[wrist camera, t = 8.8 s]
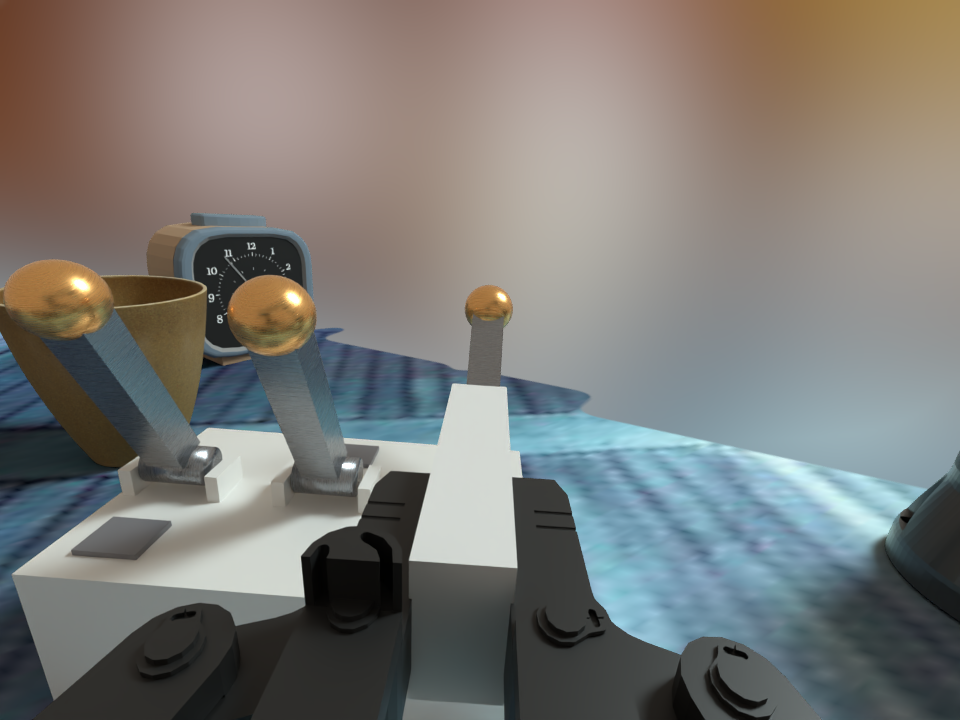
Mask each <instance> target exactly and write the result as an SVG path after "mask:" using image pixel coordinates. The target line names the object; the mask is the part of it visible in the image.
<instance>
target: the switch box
mask: <svg viewBox="0 0 960 720" xmlns="http://www.w3.org/2000/svg"><path fill="white" fill-rule="evenodd" d="M197 438H198V439H199V441H200V444H199V445H198V446H211V447H218V448H219V449H220V451H221V453H222V461H221V462H220V463H219V464H218V465H216V466H215V467H214V468H213V469H212V470H211V471H210V472H209V473H208V474H206V475H205V476H204V481H205V486H201V485H188V484H174V483H161V482H148V481H144V480H142V479H141V478H140V476H139V474H138V462H139V458H140V457H139V456H138V457H136V458H135V459H133V460H132V461H130V462H129V463H127V464H126V465H125V466H123V467H122V468H120V469H119V470H118V475H119V479H120V484H121V488H122V492H121V493H120V494H119V495H117V496H116V497H115V498H113V499H112V500H111V501H109V502H108V503H107V504H105V505H104V506H103V507H101V508H100V509H99V510H97V511H96V512H95V513H93V514H92V515H91V516H89V517H88V518H86V519H85V520H84V521H82V522H81V523H80V524H78V525H77V526H76V527H74V528H73V529H72V530H70V531H69V532H68V533H66V534H65V535H64V536H62V537H61V538H60V539H58V540H57V541H56V542H54V543H53V544H52V545H50V546H49V547H48V548H46V549H45V550H43V551H42V552H41V553H39V554H38V555H37V556H35V557H34V558H33V559H31V560H30V561H29V562H27V563H26V564H25V565H23V566H22V567H21V568H19V569H18V570H17V571H15V572H14V573H13V574H12V577H13V580H14V583H15V586H16V589H17V592H18V595H19V598H20V601H21V604H22V607H23V610H24V613H25V616H26V619H27V622H28V625H29V628H30V631H31V634H32V637H33V640H34V643H35V646H36V649H37V652H38V655H39V658H40V661H41V664H42V667H43V670H44V673H45V676H46V679H47V682H48V685H49V688H50V691H51V694H52V697H53V700H55V699H57V698H58V697H59V696H60V695H61V694H62V693H63V692H65V691H66V690H67V689H68V688H69V687H70V686H71V685H73V684H74V683H75V682H76V681H77V680H78V679H79V678H81V677H82V676H83V675H84V674H85V673H86V672H88V671H89V670H90V669H91V668H92V667H93V666H94V665H96V664H97V663H98V662H99V661H100V660H101V659H102V658H104V657H105V656H106V655H107V654H108V653H109V652H110V651H112V650H113V649H114V648H115V647H116V646H117V645H118V644H120V643H121V642H122V641H123V640H124V639H125V638H126V637H128V636H129V635H130V634H131V633H132V632H134V631H135V630H137V629H138V628H139V627H141V626H142V625H144V624H145V623H147V622H148V621H149V620H151V619H152V618H154V617H156V616H158V615H160V614H163V613H165V612H167V611H169V610H172V609H174V608H176V607H180V606H185V605H190V604H195V603H208V604H217V605H219V606H221V607H223V608H224V609H226V610H227V611H229V612H230V613H231V615H232V617H233V620H234V623H235V626H238V625H243V624H247V623H252V622H257V621H261V620H266V619H271V618H276V617H279V616H282V615H286V614H289V613H292V612H294V611H296V610H298V609H300V608H302V607H304V606H305V597H304V586H303V575H302V565H301V555H302V554H303V553H304V552H305V551H306V549H307V548H308V547H309V546H310V545H311V544H312V543H313V542H314V541H316V540H317V539H319V538H320V537H322V536H324V535H325V534H327V533H328V532H332V531H335V530H338V529H341V528H344V527H349V526H357V524H358V522H359V520H360V519H361V516H362V513H363V511H364V508H365V506H366V504H368V499H369V497H370V495H371V492H372V490H373V488H374V486H375V484H376V483H377V482H378V481H379V480H381V479H382V478H383V477H384V476H385V475H386V474H388V473H389V472H390V471H403V472H418V473H431V469H432V465H433V461H434V457H435V453H436V449H437V445H430V444H416V443H403V442H390V441H377V440H363V439H350V438H343V439H344V443H345V447H346V450H347V455H346V457H357V458H362V461H363V478H362V481H361V483H360V485H359V487H358V495H357V496H356V497H344V496H331V495H318V494H305V493H294V492H293V491H292V489H291V472H292V467H293V464H294V462H295V461H294V459H293V457H292V454H291V452H290V449H289V447H288V445H287V442H286V440H285V438H284V435H283V433H270V432H257V431H244V430H230V429H217V428H207V429H206V430H205V431H203V432H202V433H201V434H199V435H198V436H197ZM510 453H511V470H512V477H518V478H523V477H522V472H521V462H520V452H519V451H510ZM402 720H504V703H503V706H497V705H483V704H470V703H456V702H443V701H429V700H416V699H408V690H407V696H406V701H405V707H404V712H403V718H402Z"/></svg>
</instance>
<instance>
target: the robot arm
mask: <svg viewBox="0 0 960 720" xmlns="http://www.w3.org/2000/svg"><path fill="white" fill-rule="evenodd" d="M885 548H886V552H887V554H888V557H889V558H890V560H891V562H892V563H893V565H894V566H895V567H896V569H897V570H898V571H899V572H900V573H901V574H902V576H903V577H904V578H905V579H906V580H907V581H908V582H909V583H910V584H911V585H912V586H914V587H915V588H916V589H917V590H918V591H919V592H920V593H921V594H923V595H924V596H925V597H926V598H928V599H929V600H930V601H931V602H933V603H934V604H935V605H937V606H938V607H939V608H941V609H942V610H944V611H945V612H946V613H948V614H949V615H951V616H952V617H954V618H955V619H957V620H958V621H960V452H959V454H958V456H957V458H956V460H955V462H954V464H953V466H952V468H951V469H950V471H949V472H948V473H946V474H945V475H944V476H943V477H942V478H941V479H939V480H938V481H937V482H936V483H935V484H934V485H932V486H931V487H930V488H929V489H928V490H927V491H925V492H924V493H923V494H922V495H921V496H920V497H918V498H917V499H916V500H915V501H914V502H913V503H912V504H911V505H910V506H909V507H908V508H907V509H905V510H903V511H902V512H901V513H900V514H899V515H898V516H897V517H896V519H895V520H894V522H893V524H892V527H891V529H890V531H889V533H888V536H887V538H886V541H885ZM301 565H302V575H303V586H304V597H305V606H304V607H302V608H300V609H298V610H296V611H294V612H292V613H289V614H286V615H282V616H279V617H276V618H271V619H266V620H261V621H257V622H252V623H247V624H243V625H238V626H235V623H234V620H233V617H232V615H231V613H230V612H229V611H227V610H226V609H224V608H223V607H221V606H219V605H217V604H208V603H195V604H190V605H185V606H180V607H176V608H174V609H172V610H169V611H167V612H165V613H163V614H160V615H158V616H156V617H154V618H152V619H151V620H149V621H148V622H147V623H145V624H144V625H142V626H141V627H139V628H138V629H137V630H135V631H134V632H132V633H131V634H130V635H129V636H128V637H126V638H125V639H124V640H123V641H122V642H121V643H120V644H118V645H117V646H116V647H115V648H114V649H113V650H112V651H110V652H109V653H108V654H107V655H106V656H105V657H104V658H102V659H101V660H100V661H99V662H98V663H97V664H96V665H94V666H93V667H92V668H91V669H90V670H89V671H88V672H86V673H85V674H84V675H83V676H82V677H81V678H79V679H78V680H77V681H76V682H75V683H74V684H73V685H71V686H70V687H69V688H68V689H67V690H66V691H65V692H63V693H62V694H61V695H60V696H59V697H58V698H57V699H55V700H54V701H53V702H52V703H51V704H50V705H49V706H47V707H46V708H45V709H44V710H43V711H42V712H40V713H39V714H38V715H37V716H36V717H35V718H34V719H32V720H402V718H403V712H404V707H405V701H406V696H407V690H408V699H416V700H429V701H443V702H456V703H470V704H483V705H497V706H503V703H504V720H822V719H821V718H820V717H819V716H818V715H817V713H816V712H815V711H814V710H813V709H812V707H811V706H810V705H809V704H808V703H807V702H806V700H805V699H804V698H803V697H802V696H801V695H800V693H799V692H798V691H797V690H796V689H795V687H794V686H793V685H792V684H791V683H790V682H789V680H788V679H787V678H786V677H785V676H784V675H783V674H782V673H781V672H780V671H779V670H778V669H776V668H775V667H774V666H773V665H772V664H771V663H770V662H769V661H768V660H767V659H766V658H764V657H763V656H761V655H759V654H758V653H756V652H754V651H753V650H751V649H750V648H748V647H746V646H745V645H743V644H740V643H737V642H734V641H731V640H728V639H725V638H722V637H701V638H699V639H696V640H694V641H692V642H690V643H688V645H687V646H686V648H685V650H684V651H683V653H682V655H679V654H677V653H674V652H671V651H669V650H666V649H663V648H660V647H658V646H655V645H652V644H649V643H647V642H644V641H642V640H640V639H637V638H635V637H633V636H631V635H629V634H627V633H626V632H624V631H623V630H622V629H620V628H619V627H617V626H616V625H615V624H614V623H613V622H611V620H610V618H609V616H608V614H607V612H606V610H605V609H604V608H603V607H602V606H601V605H600V604H599V603H598V602H597V601H596V600H595V598H594V596H593V593H592V590H591V587H590V583H589V579H588V575H587V571H586V567H585V563H584V559H583V555H582V551H581V547H580V543H579V539H578V535H577V532H576V527H575V523H574V519H573V516H572V511H571V507H570V503H569V499H568V495H567V494H566V493H565V492H564V491H563V490H562V488H561V487H560V486H559V485H558V484H557V483H556V481H555V480H548V479H533V478H518V477H512V470H511V453H510V437H509V421H508V404H507V388H506V387H497V386H481V385H465V384H452V389H451V393H450V397H449V401H448V405H447V409H446V413H445V417H444V421H443V425H442V429H441V433H440V437H439V441H438V445H437V449H436V453H435V457H434V461H433V465H432V469H431V473H418V472H403V471H390V472H389V473H388V474H386V475H385V476H384V477H383V478H382V479H381V480H379V481H378V482H377V483H376V484H375V486H374V488H373V490H372V492H371V495H370V497H369V499H368V504H366V506H365V508H364V511H363V513H362V516H361V519H360V520H359V522H358V524H357V526H349V527H344V528H341V529H338V530H335V531H332V532H328V533H327V534H325V535H324V536H322V537H320V538H319V539H317V540H316V541H314V542H313V543H312V544H311V545H310V546H309V547H308V548H307V549H306V551H305V552H304V553H303V554H302V555H301Z"/></svg>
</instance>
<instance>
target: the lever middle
mask: <svg viewBox="0 0 960 720" xmlns="http://www.w3.org/2000/svg"><path fill="white" fill-rule="evenodd" d="M316 316H317V315H316V308H315V305H314V302H313V300H312V298H311V297H310V295H309V294H308V293H307V291H306V290H305V289H304V288H303V287H302V286H300V285H299V284H298V283H296V282H295V281H293V280H291V279H288V278H285V277H282V276H277V275H263V276H258V277H255V278H252V279H250V280H248V281H246V282H245V283H243V284H242V285H241V286H240V287H238V288H237V290H236V291H235V292H234V294H233V295H232V297H231V299H230V301H229V305H228V309H227V318H228V323H229V327H230V329H231V331H232V333H233V335H234V336H235V338H236V339H237V340H238V341H239V342H240V343H241V344H242V345H243V346H244V347H246V348H247V350H248V353H249V355H250V357H251V360H252V362H253V364H254V367H255V369H256V372H257V374H258V376H259V379H260V381H261V383H262V386H263V388H264V390H265V393H266V395H267V397H268V400H269V402H270V405H271V407H272V409H273V412H274V414H275V416H276V419H277V421H278V423H279V426H280V428H281V431H282V433H283V435H284V438H285V440H286V442H287V445H288V447H289V449H290V452H291V454H292V457H293V459H294V461H295V462H294V464H293V467H292V472H291V489H292V491H293V492H294V493H305V494H318V495H331V496H344V497H356V496H357V495H358V487H359V485H360V483H361V481H362V478H363V461H362V458H357V457H346V455H347V450H346V447H345V443H344V439H343V436H342V432H341V429H340V425H339V421H338V418H337V414H336V410H335V407H334V403H333V399H332V396H331V392H330V388H329V385H328V381H327V377H326V374H325V370H324V366H323V363H322V359H321V356H320V352H319V348H318V345H317V341H316V337H315V334H314V330H315V326H316V321H317V320H316V318H317V317H316Z"/></svg>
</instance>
